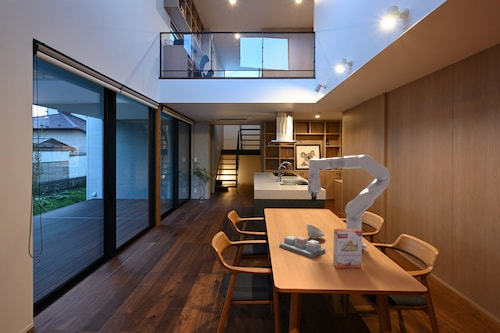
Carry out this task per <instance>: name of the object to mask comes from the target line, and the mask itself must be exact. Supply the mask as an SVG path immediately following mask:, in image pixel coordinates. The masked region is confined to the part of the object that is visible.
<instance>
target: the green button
mask: <svg viewBox="0 0 500 333" xmlns="http://www.w3.org/2000/svg"><path fill="white" fill-rule="evenodd" d="M288 236H289V237H288ZM288 236H285V237H286V238H288V239H291V240H293V239H295V238H296V236H294V235H293V236H292V235H288Z"/></svg>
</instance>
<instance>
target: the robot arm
mask: <svg viewBox="0 0 500 333" xmlns="http://www.w3.org/2000/svg"><path fill="white" fill-rule="evenodd" d="M330 169H331V170H332V169H347V170H348V169H349V170H350V169H362V170H364V171H365V172H367V173H368V174H370V175H371V176H372V177H373V178H374V179H373V181H371V183H370V184H369V185H368V186H367V187H366V188H364V189H363V190H362V191H360V192H359V193H358V195H357V196H355V198H353V199H352V200H351V201H349V202H348V203H347V204H346V206H345V208H344V212H345V215H346V220H345V221H346V226H345V227H346V228H345V229H359V230H361V231H362V224H363V222H362V221H363V213H364V212H365V211H367V210H368V208H370V207H371V206H372V205H373V204H374V202H375V200H376V198H378V197H379V196H380V195H381V194H383V192H384V191H385V190H386V189H387V187H388V186H389V184H390V180H391V175H390V172H389V169H388V168H387V167H386V166H385V165H382V164H381V163H379V162H378V161H376V160H375V159H374V158H373V157H372V156H371V155H369V154H359V155H358V154H357V155H356V154H355V155H345V156H342V157H329V158H320V159H319V158H310V159H309V160H308V181H307V192H308V194H309V195H310V196H311V198H310V199H311V202H314V203H316V202H317V196H318V194H319V192H321V190H322V182H321V177H320V176H321V174H320V173H321V172H320V170H330ZM367 248H368V245H367V244H364V241H362V250H364V249H365V250H366V249H367Z"/></svg>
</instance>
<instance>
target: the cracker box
mask: <svg viewBox="0 0 500 333" xmlns="http://www.w3.org/2000/svg"><path fill="white" fill-rule="evenodd" d="M362 242H363V231H362V229H361V230H359V229H346V228H334V230H333V260H332V262H333V263H332V264H333V265H334V267H335V268H336V269H361V268H362V254H363V253H362V252H363V251H362Z"/></svg>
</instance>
